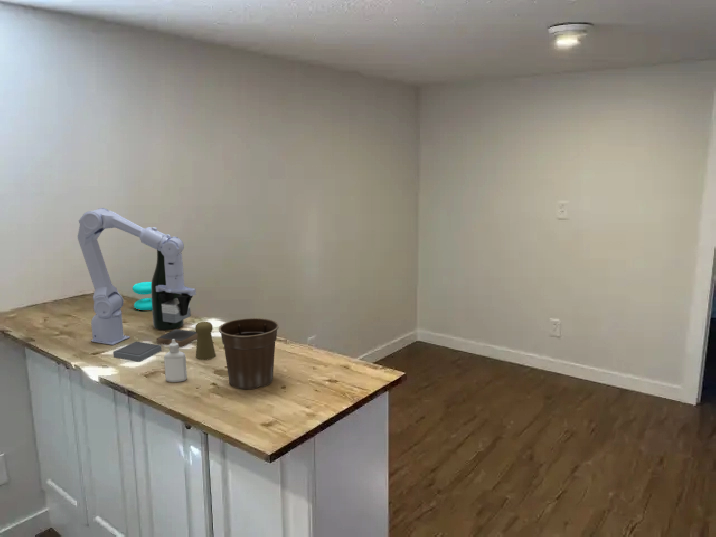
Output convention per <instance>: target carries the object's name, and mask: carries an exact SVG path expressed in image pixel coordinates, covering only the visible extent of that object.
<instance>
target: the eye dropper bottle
mask: <svg viewBox="0 0 716 537" xmlns="http://www.w3.org/2000/svg"><path fill="white" fill-rule="evenodd" d="M168 346H169V351H168V352H166V353H165V354H164V355H163V362H164V375H165V376H164V377H165V381H166V382H168V383H180V382H184V381H186V379H187V378H188V374H187V373H188V372H187V360H186V353H185V352H184V351H183V352H182V351H180V347H179V345H178V343H176V342H175V339H172V343H171V344H169V345H168Z"/></svg>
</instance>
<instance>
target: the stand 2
mask: <svg viewBox="0 0 716 537" xmlns="http://www.w3.org/2000/svg"><path fill="white" fill-rule="evenodd" d="M172 339H175V342H176V343H178V345H179V348H183V347H185V346H187V345H189V344H191V343H192V342H194V341H197V333H196V331H193V330H187V329H186V330H185V329H179V328H176V329H172V330H171V331H169V332H167V333H164V334H162V335H160V336H158V337H156V344H158V345H160V344H161V345H166V346H167V345H168V346H169V344H171V343H172Z"/></svg>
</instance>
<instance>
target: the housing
mask: <svg viewBox="0 0 716 537" xmlns="http://www.w3.org/2000/svg"><path fill="white" fill-rule="evenodd" d="M191 312H192V311H191V302H190V303H189V306H188V311H187V315H185V316H182V315H181V310H180V304H179V301H178V298H175V299H173V300H170V301H168V302H165V303H163V304H162V314H163V321H164V322H171V323H177V322H179V321H181V320H183V319H184V320H185V319H188V318H189V317H191V316H192V313H191Z"/></svg>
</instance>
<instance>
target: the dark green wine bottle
mask: <svg viewBox="0 0 716 537" xmlns="http://www.w3.org/2000/svg"><path fill="white" fill-rule="evenodd" d="M151 282H152V283H151V294H150V295H151V298H152V310H151V311H152V324H153V328H154V329H156V330H160V331H169V330H171V331H172V330H175V329H179V328H181V327H183V325H184V324H185V322H184V320H185V319H183V320H181V321H179V322H177V323H171V322H164V321H163V314H162V304H163V301H162V300H161V298H160V297H159V294H161V292H156V286H158V285H166V277H165V263H164V255H163V254H162V253H161V251H159V250H156V264H155V270H154V272H153V276H152V279H151ZM180 295H181V294H177V293H174V299H175V298H177V296H180Z"/></svg>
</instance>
